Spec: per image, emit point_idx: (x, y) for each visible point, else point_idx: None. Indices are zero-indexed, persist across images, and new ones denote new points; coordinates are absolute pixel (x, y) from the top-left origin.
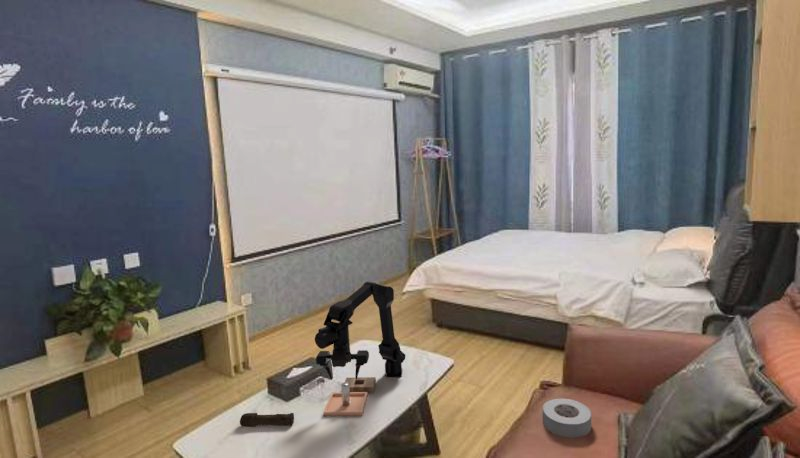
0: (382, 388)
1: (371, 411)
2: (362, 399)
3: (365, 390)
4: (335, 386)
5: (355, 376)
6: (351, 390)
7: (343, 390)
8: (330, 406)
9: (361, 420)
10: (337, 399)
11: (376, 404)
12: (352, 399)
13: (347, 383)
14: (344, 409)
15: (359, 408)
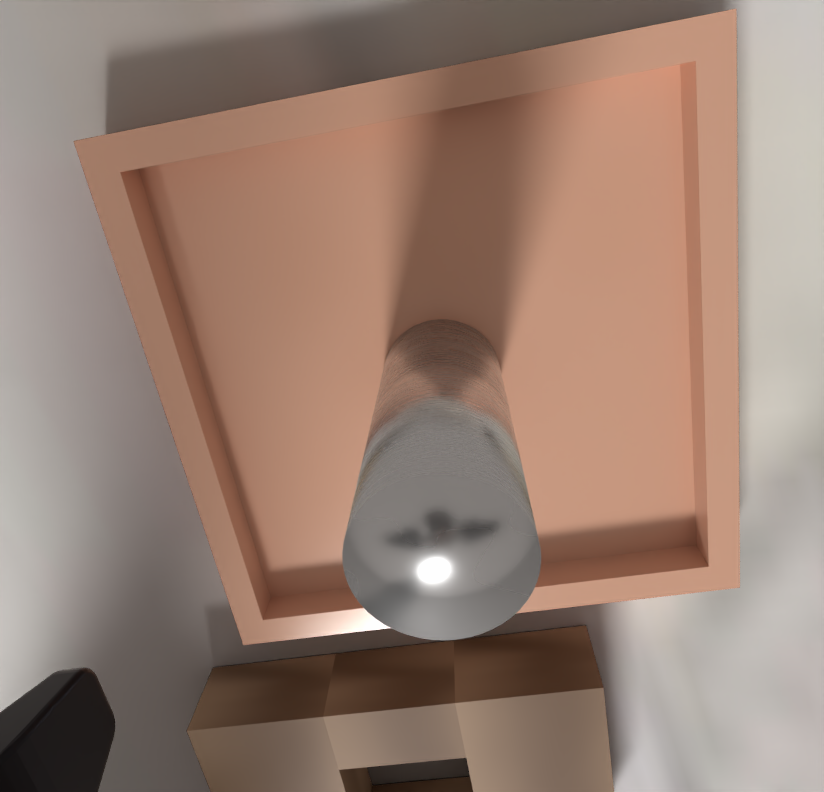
0: (154, 754)
1: (37, 278)
2: (267, 512)
3: (298, 683)
4: (728, 744)
5: (19, 733)
6: (477, 665)
7: (453, 425)
8: (667, 284)
9: (59, 9)
10: (613, 471)
11: (57, 448)
12: None
13: (395, 598)
14: (422, 237)
15: (212, 299)
